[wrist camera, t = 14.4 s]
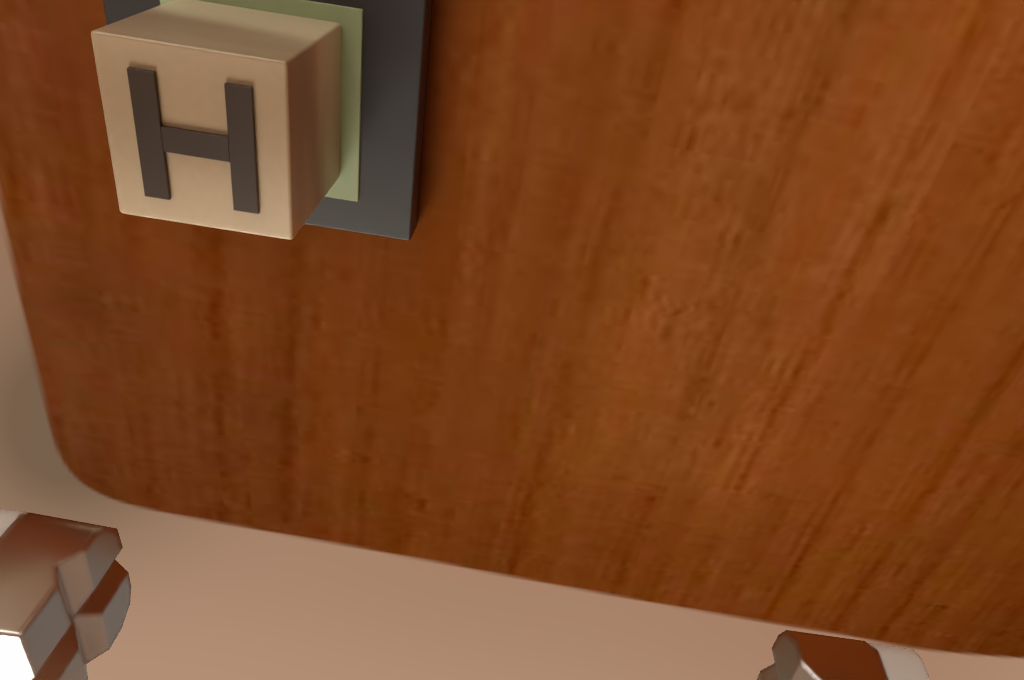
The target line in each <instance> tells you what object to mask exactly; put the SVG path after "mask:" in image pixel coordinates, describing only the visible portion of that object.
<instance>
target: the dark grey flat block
mask: <svg viewBox="0 0 1024 680" xmlns="http://www.w3.org/2000/svg"><path fill="white" fill-rule="evenodd" d="M103 1H104V8H105V14H106V21H107V25H109V24H112V23H114V22H117V21H120V20H122V19H125V18H128V17H130V16H133V15H136V14H138V13H141V12H144V11H146V10H149V9H152V8H154V7H157V6H160V5H162V4H165V3H168V2H170V1H173V0H103ZM198 1H204V2H211V3H217V4H223V5H230V6H236V7H242V8H248V9H255V10H261V11H267V12H274V13H280V14H286V15H292V16H299V17H305V18H311V19H317V20H324V21H330V22H336V23H339V24H340V26H341V51H340V176H339V178H338V179H337V181H336V182H335V183H334V185H333V186H332V187H331V189H330V190H329V191H328V193H327V194H326V195H325V197H324V198H323V199H322V201H321V202H320V203H319V205H318V206H317V207H316V209H315V210H314V211H313V213H312V214H311V215H310V217H309V218H308V219H307V220H306V222H305V223H304V224H308V225H315V226H321V227H327V228H333V229H340V230H346V231H352V232H359V233H365V234H371V235H377V236H384V237H390V238H396V239H403V240H410V239H411V237H412V235H413V233H414V230H415V228H416V226H417V212H418V197H419V183H420V168H421V154H422V140H423V125H424V111H425V96H426V82H427V68H428V53H429V39H430V24H431V10H432V0H198Z"/></svg>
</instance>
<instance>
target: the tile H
mask: <svg viewBox="0 0 1024 680" xmlns="http://www.w3.org/2000/svg"><path fill="white" fill-rule="evenodd" d="M91 37H92V43H93V49H94V55H95V61H96V67H97V74H98V80H99V86H100V92H101V98H102V104H103V110H104V116H105V122H106V128H107V134H108V140H109V146H110V153H111V159H112V165H113V171H114V177H115V183H116V189H117V195H118V201H119V207H120V211H121V213H124V214H130V215H136V216H143V217H149V218H155V219H162V220H168V221H174V222H181V223H187V224H193V225H199V226H206V227H212V228H218V229H225V230H231V231H237V232H244V233H250V234H256V235H262V236H269V237H275V238H281V239H288V240H291V239H293V238H294V236H295V235H296V234H297V232H298V231H299V230H300V228H301V227H302V226H303V224H304V223H305V222H306V220H307V219H308V218H309V217H310V215H311V214H312V213H313V211H314V210H315V209H316V207H317V206H318V205H319V203H320V202H321V201H322V199H323V198H324V197H325V195H326V194H327V193H328V191H329V190H330V189H331V187H332V186H333V185H334V183H335V182H336V181H337V179H338V178H339V176H340V51H341V26H340V24H339V23H336V22H330V21H324V20H317V19H311V18H305V17H299V16H292V15H286V14H280V13H274V12H267V11H261V10H255V9H248V8H242V7H236V6H230V5H223V4H217V3H211V2H204V1H198V0H173V1H170V2H168V3H165V4H162V5H160V6H157V7H154V8H152V9H149V10H146V11H144V12H141V13H138V14H136V15H133V16H130V17H128V18H125V19H122V20H120V21H117V22H114V23H112V24H109V25H106V26H104V27H101V28H98V29H96V30H93V31H92V32H91Z"/></svg>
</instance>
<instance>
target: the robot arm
mask: <svg viewBox="0 0 1024 680" xmlns="http://www.w3.org/2000/svg"><path fill="white" fill-rule="evenodd" d="M121 549H122V544H121V540H120V537H119V533H118V530H117V529H116V528H111V527H105V526H100V525H94V524H89V523H83V522H77V521H72V520H67V519H61V518H55V517H50V516H44V515H40V514H34V513H28V512H22V511H16V510H10V509H4V508H0V680H88V675H87V668H86V664H87V663H88V662H90V661H92V660H93V659H95V658H96V657H98V656H99V655H101V654H103V653H104V652H106V651H107V650H109V649H110V647H111V645H112V644H113V642H114V640H115V639H116V637H117V635H118V633H119V632H120V630H121V628H122V626H123V622H124V620H125V617H126V614H127V610H128V608H129V605H130V595H131V584H130V578H129V574H128V572H127V571H126V570H125V569H124V568H123V567H122V566H121V565H120V564H119V563H118V562H117V561H116V560H115V558H116V557H117V555H118V554H119V552H120V550H121ZM772 651H773V656H774V660H775V663H774V664H773V665H771V666H769V667H767V668H765V669H763V670H761V671H760V674H759V676H758V678H757V680H930V678H929V675H928V673H927V671H926V668H925V666H924V663H923V661H922V659H921V658H920V656H919V655H918V654H917V653H916V652H915V651H914V650H912V649H907V648H900V647H894V646H886V645H880V644H874V643H867V642H865V641H860V640H853V639H846V638H839V637H831V636H824V635H817V634H810V633H803V632H796V631H789V630H786V631H784V632H783V633H781V634H780V635H778V637H777V639H776V641H775V643H774V645H773V647H772Z"/></svg>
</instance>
